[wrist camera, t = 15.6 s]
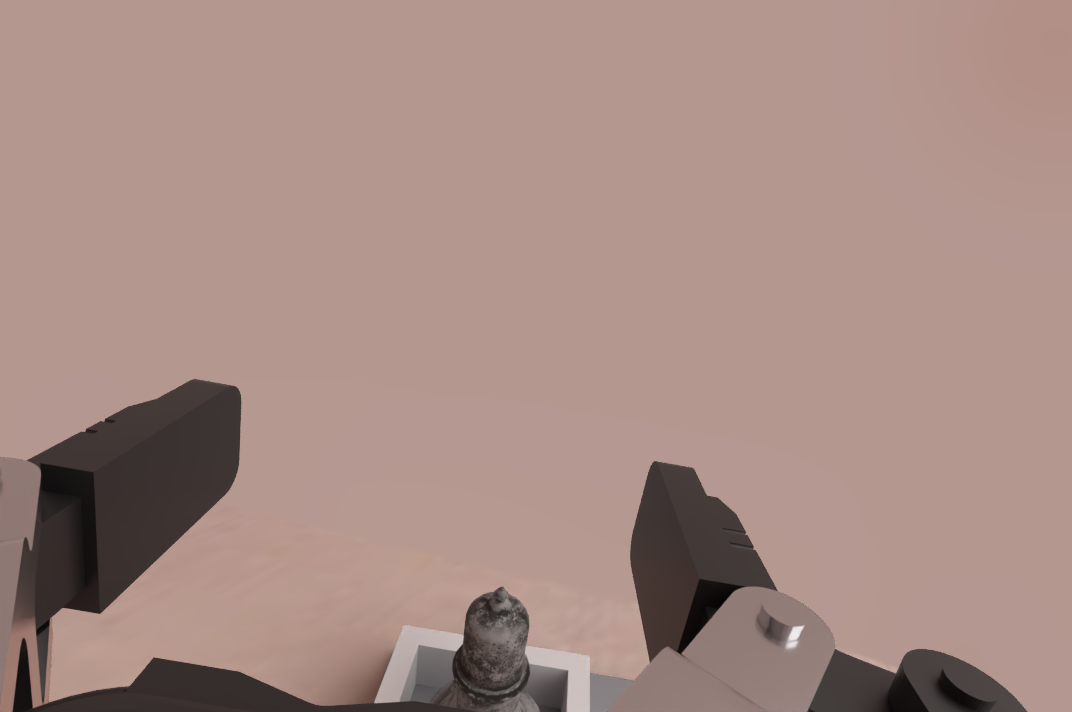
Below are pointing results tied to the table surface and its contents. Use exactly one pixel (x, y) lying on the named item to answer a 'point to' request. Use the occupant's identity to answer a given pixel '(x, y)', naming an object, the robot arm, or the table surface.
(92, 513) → the robot arm
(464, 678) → the salt shaker
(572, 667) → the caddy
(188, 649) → the table surface
